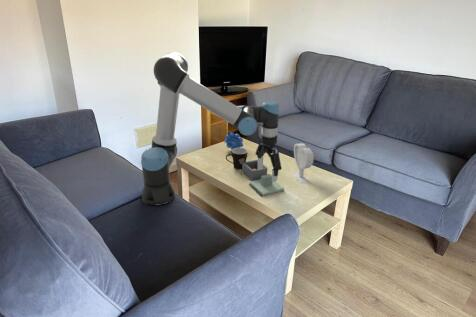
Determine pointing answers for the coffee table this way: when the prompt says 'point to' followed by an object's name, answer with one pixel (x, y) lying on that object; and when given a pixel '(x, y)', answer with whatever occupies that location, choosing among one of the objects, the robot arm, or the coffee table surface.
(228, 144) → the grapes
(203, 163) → the coffee table surface
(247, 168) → the grey open box
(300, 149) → the heart sculpture
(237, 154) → the coffee mug
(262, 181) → the lid
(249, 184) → the mat
